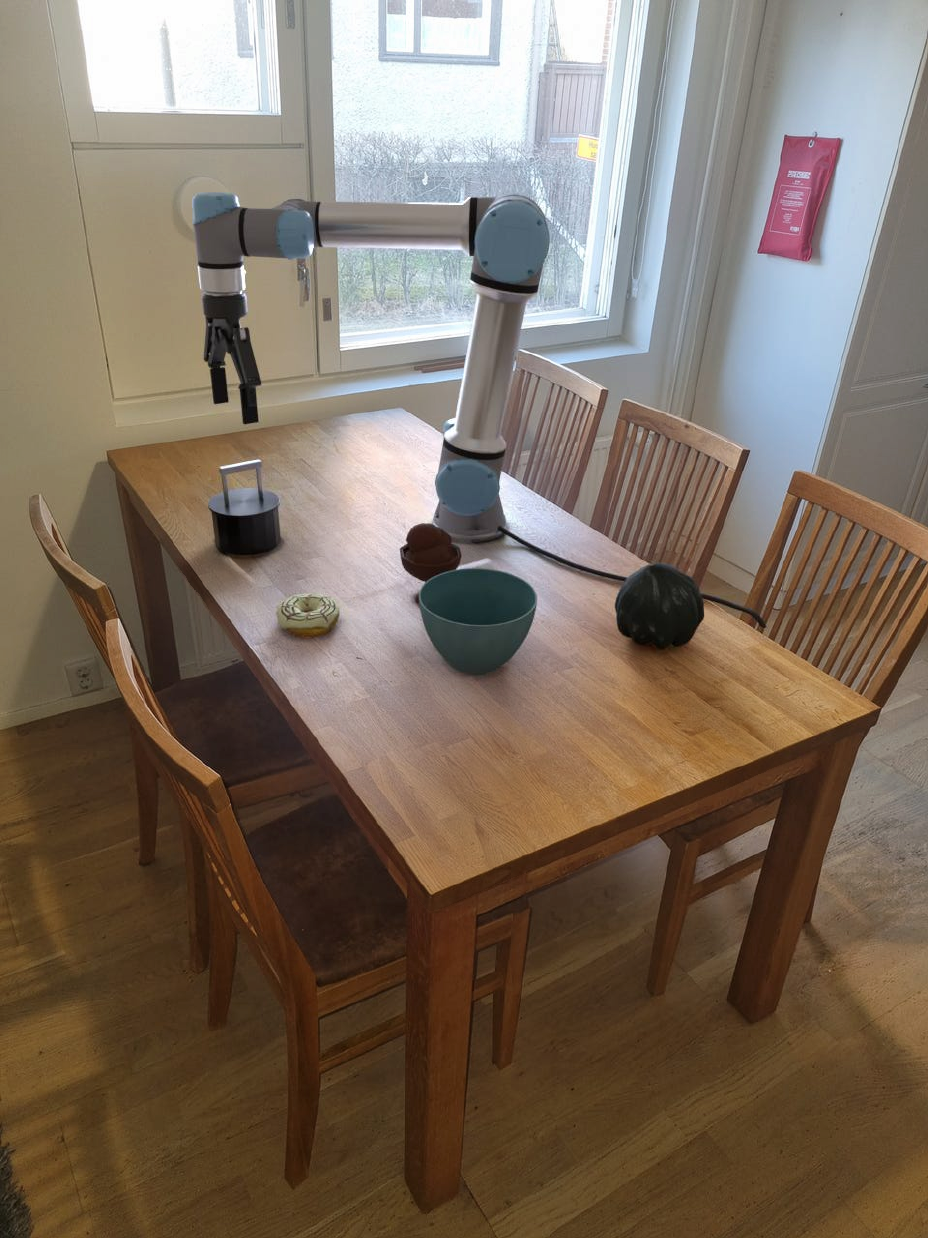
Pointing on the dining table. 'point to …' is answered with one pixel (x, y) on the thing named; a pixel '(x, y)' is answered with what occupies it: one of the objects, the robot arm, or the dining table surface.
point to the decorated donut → (308, 614)
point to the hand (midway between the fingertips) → (235, 412)
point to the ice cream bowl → (429, 553)
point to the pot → (246, 534)
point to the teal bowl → (477, 617)
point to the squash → (659, 606)
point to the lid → (243, 495)
